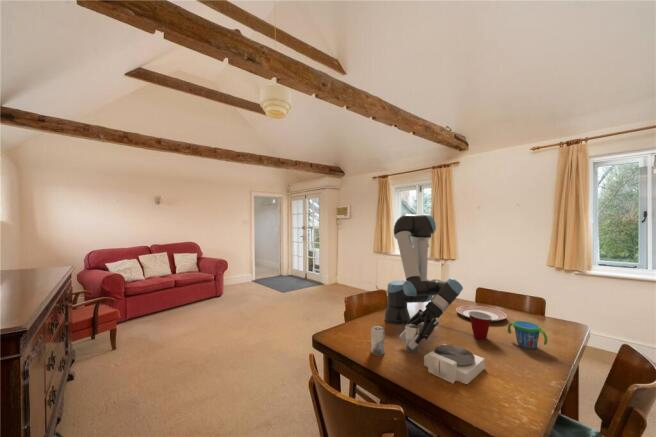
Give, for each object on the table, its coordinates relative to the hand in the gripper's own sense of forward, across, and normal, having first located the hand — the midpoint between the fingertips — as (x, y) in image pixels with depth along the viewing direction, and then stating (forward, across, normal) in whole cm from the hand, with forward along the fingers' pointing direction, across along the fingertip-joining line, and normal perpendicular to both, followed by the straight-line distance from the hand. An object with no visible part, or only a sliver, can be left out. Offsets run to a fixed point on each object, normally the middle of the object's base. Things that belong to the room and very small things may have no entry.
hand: (405, 342), depth 122 cm
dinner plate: (-44, +33, -50) cm, 74 cm away
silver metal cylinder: (0, 0, -5) cm, 5 cm away
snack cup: (-39, -6, -45) cm, 60 cm away
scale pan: (-10, -16, -9) cm, 21 cm away
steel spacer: (+12, +1, +7) cm, 14 cm away
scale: (-6, -17, -11) cm, 21 cm away
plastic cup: (-29, +6, -34) cm, 45 cm away
